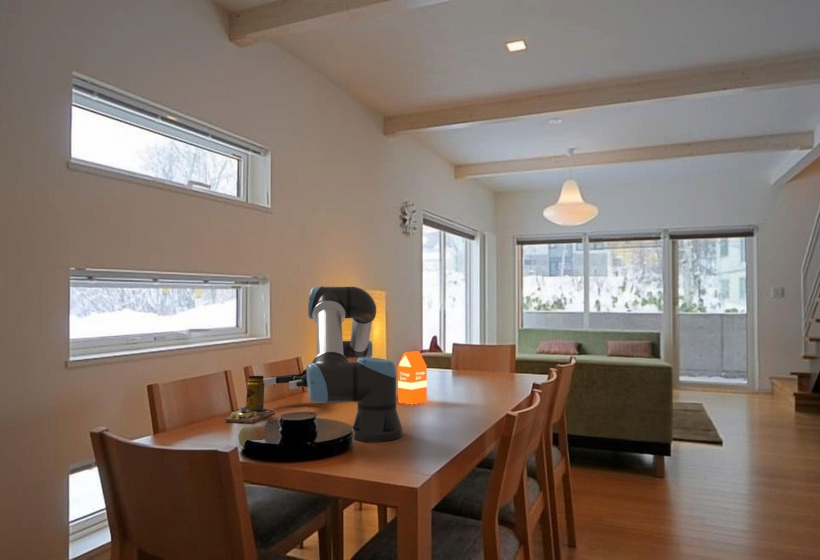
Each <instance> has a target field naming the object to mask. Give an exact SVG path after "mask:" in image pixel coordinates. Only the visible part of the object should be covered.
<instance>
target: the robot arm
mask: <svg viewBox="0 0 820 560" xmlns="http://www.w3.org/2000/svg"><path fill="white" fill-rule="evenodd" d="M307 304H308V307H307V308H308V309H307V310H308V311H307V312H308V313H307V315H308V317H309V319H310V320H313V322H314V323H315V324H316V349H315V351H316V354H315V357H314V358H313V360H312V362H311V363H308V364H307V365H306V368H305V369H304V370H302V372H301V373H297V374H293V373H292V374H287V375H285V374H284V375H272V376H271V377H269V378H263V380H264V387H268V386H276V385H277V384H288V390H294V389H299V388H304V387H306V388H307V390H308V398H309V399H310V400H309V401H310V402H312V403H314V404H320V403H321V404H331V403H333V404H334V403H350V402H353V403H354V402H357V412H356V415H355V418H354V421H353V424H352V428H353V429H354V431H355V435H354V438H353V439H355V440H357V441H362V442H367V443H368V442H371V443H372V442H375V443H376V442H377V443H378V442H379V443H381V442H389V441H395V440H398V439H400V438H401V437H402V436H403V427H402V423H401V420H400V417H399V414H398V412H397V384H396V383H397V379H398V375H397V372H396V371H397V369H396V364H395V363H394V362H393V361H391V360H389V359H384V358H379V357H373V342H372V340H370V337H371V331H372V324H373V322H374V320H375V318H376V315H377V305H376V302H375V300H374V299H373V297H372V296H371V295H370V294H369V293H368V292H367V291H366V290H364V289H362V288H360V287H357V286H314V287H312V288H311V290H309V296H308V303H307ZM345 319H352V323H351V335H350V336H351V337H350V340H343V326H342V325H343V322H344V321H345ZM351 359H353V360H354V359H356V361H355V362H354V361H353V362H349V360H351Z"/></svg>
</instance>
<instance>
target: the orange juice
mask: <svg viewBox="0 0 820 560" xmlns="http://www.w3.org/2000/svg"><path fill="white" fill-rule="evenodd" d="M427 367H428V366H427V364H426V361H425V360H424V358H423V356H422V354H421V352H420V350H416V351H406V352H404V353H403V355H402V357H401V359H400V360H399V363H398V365H397V393H398V394H397V396H398V397H397V398H398V400H397V403H398V402H399V404H403V403H405V404H404V405H408V404H411V405H410V406H414V405H413V404H415V405H419V404H418V403H420V404H424V403H427V402H428V391H427V390H428V388H427V387H428V381H427V380H428V377H427V376H428V375H427V373H428V372H427V371H428V370H427ZM423 402H424V403H423Z"/></svg>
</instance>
